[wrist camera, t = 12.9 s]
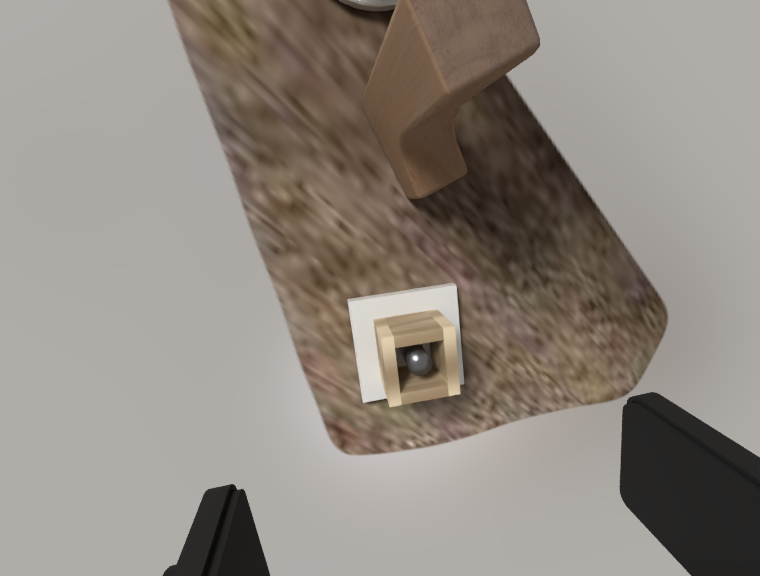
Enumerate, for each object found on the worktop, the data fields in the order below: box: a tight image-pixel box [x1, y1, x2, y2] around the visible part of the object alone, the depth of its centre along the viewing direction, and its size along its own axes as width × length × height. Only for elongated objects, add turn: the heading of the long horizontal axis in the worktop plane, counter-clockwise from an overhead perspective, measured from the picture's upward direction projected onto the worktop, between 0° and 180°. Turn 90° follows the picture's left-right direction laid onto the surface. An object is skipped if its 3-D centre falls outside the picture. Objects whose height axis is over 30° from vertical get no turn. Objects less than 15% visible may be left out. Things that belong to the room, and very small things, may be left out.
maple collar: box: [373, 309, 460, 407], centre depth 34 cm, size 6×6×5 cm
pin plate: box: [347, 283, 464, 403], centre depth 34 cm, size 10×10×6 cm
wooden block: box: [361, 0, 540, 199], centre depth 24 cm, size 9×4×18 cm, turn 28°
